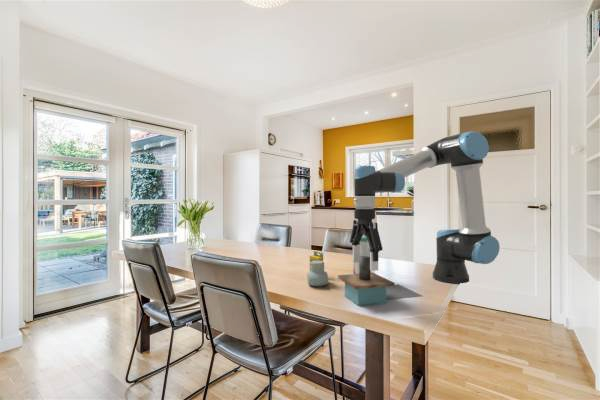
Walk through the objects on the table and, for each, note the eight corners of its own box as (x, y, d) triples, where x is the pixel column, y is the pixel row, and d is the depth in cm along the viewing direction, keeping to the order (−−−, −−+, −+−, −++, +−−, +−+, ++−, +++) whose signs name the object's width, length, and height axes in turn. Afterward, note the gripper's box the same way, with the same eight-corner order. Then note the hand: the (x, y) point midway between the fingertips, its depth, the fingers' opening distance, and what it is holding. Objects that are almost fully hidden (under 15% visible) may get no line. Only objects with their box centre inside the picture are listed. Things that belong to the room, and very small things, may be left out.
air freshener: (328, 288, 126) (328, 264, 126) (309, 288, 125) (309, 264, 125) (325, 281, 137) (324, 259, 136) (306, 281, 136) (306, 259, 136)
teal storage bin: (370, 294, 117) (370, 276, 117) (386, 304, 107) (386, 284, 107) (344, 297, 114) (344, 278, 114) (358, 307, 104) (358, 287, 104)
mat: (398, 285, 129) (398, 284, 129) (423, 297, 114) (423, 296, 114) (364, 288, 125) (364, 287, 125) (386, 301, 110) (386, 300, 110)
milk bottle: (374, 281, 136) (374, 237, 136) (365, 285, 130) (365, 238, 130) (359, 278, 141) (359, 235, 141) (350, 281, 135) (350, 237, 135)
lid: (372, 275, 120) (372, 252, 120) (394, 285, 105) (394, 259, 105) (337, 277, 116) (337, 254, 116) (355, 289, 101) (355, 262, 101)
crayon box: (309, 275, 147) (309, 251, 146) (314, 274, 148) (314, 251, 148) (318, 278, 141) (318, 253, 140) (323, 277, 142) (323, 253, 142)
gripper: (341, 207, 121) (341, 259, 121) (372, 209, 97) (372, 275, 97) (358, 207, 123) (358, 258, 123) (393, 209, 99) (393, 273, 99)
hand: (364, 266), depth 110 cm, fingers open, 13 cm apart
